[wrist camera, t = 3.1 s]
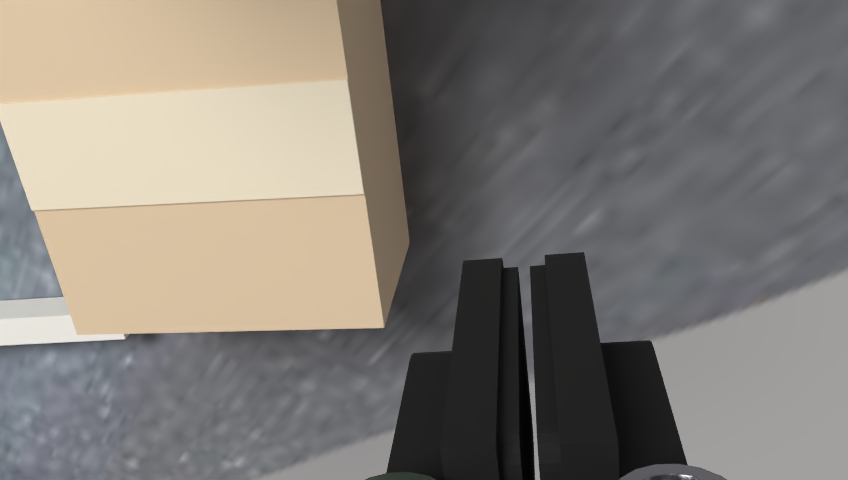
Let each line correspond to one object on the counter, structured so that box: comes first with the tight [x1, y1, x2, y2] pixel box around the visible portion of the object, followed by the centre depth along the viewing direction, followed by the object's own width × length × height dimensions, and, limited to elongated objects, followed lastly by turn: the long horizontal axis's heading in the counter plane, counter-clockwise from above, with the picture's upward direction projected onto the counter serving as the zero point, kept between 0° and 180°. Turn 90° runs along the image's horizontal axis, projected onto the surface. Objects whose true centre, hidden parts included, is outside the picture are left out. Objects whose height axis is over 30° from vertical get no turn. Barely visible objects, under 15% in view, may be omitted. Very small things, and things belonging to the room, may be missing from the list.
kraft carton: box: [0, 0, 410, 335], centre depth 24 cm, size 10×12×6 cm
